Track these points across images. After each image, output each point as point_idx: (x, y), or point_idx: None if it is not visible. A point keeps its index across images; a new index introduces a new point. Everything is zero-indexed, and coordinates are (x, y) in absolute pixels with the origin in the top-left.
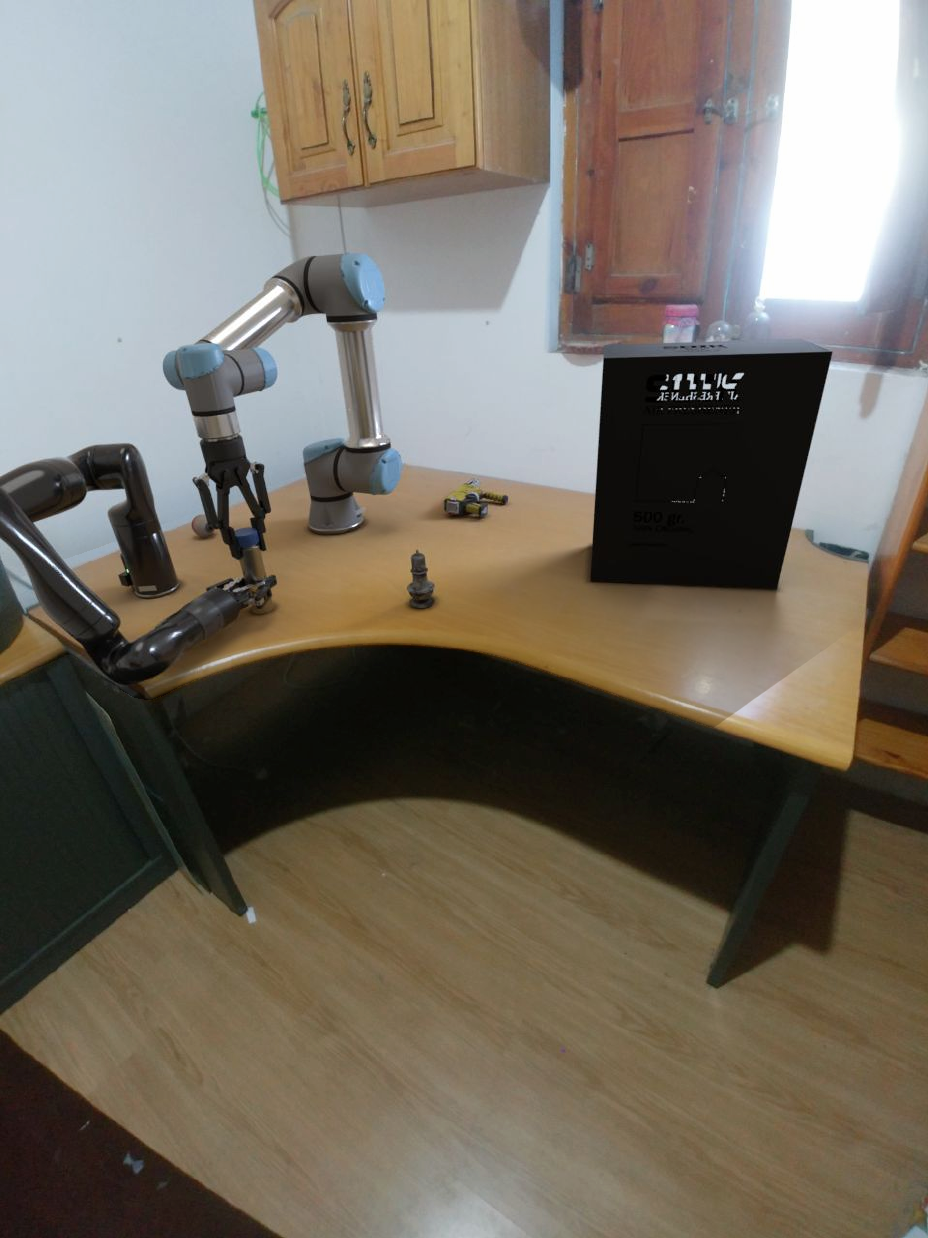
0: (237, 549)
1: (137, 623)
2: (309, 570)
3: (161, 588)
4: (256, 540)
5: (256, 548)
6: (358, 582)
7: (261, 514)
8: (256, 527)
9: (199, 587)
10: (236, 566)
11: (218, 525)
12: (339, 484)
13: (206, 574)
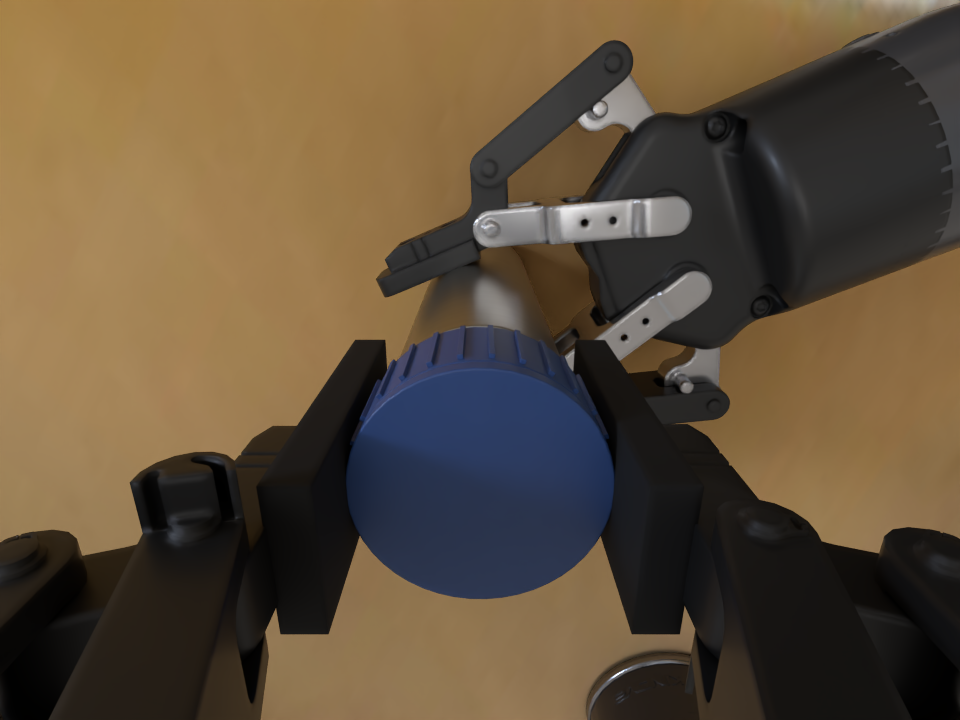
0: (607, 371)
1: (841, 541)
2: (161, 448)
3: (682, 678)
4: (419, 350)
5: (444, 327)
6: (9, 158)
7: (172, 537)
8: (338, 464)
9: (556, 625)
10: (378, 675)
11: (908, 563)
12: None
13: (487, 692)
